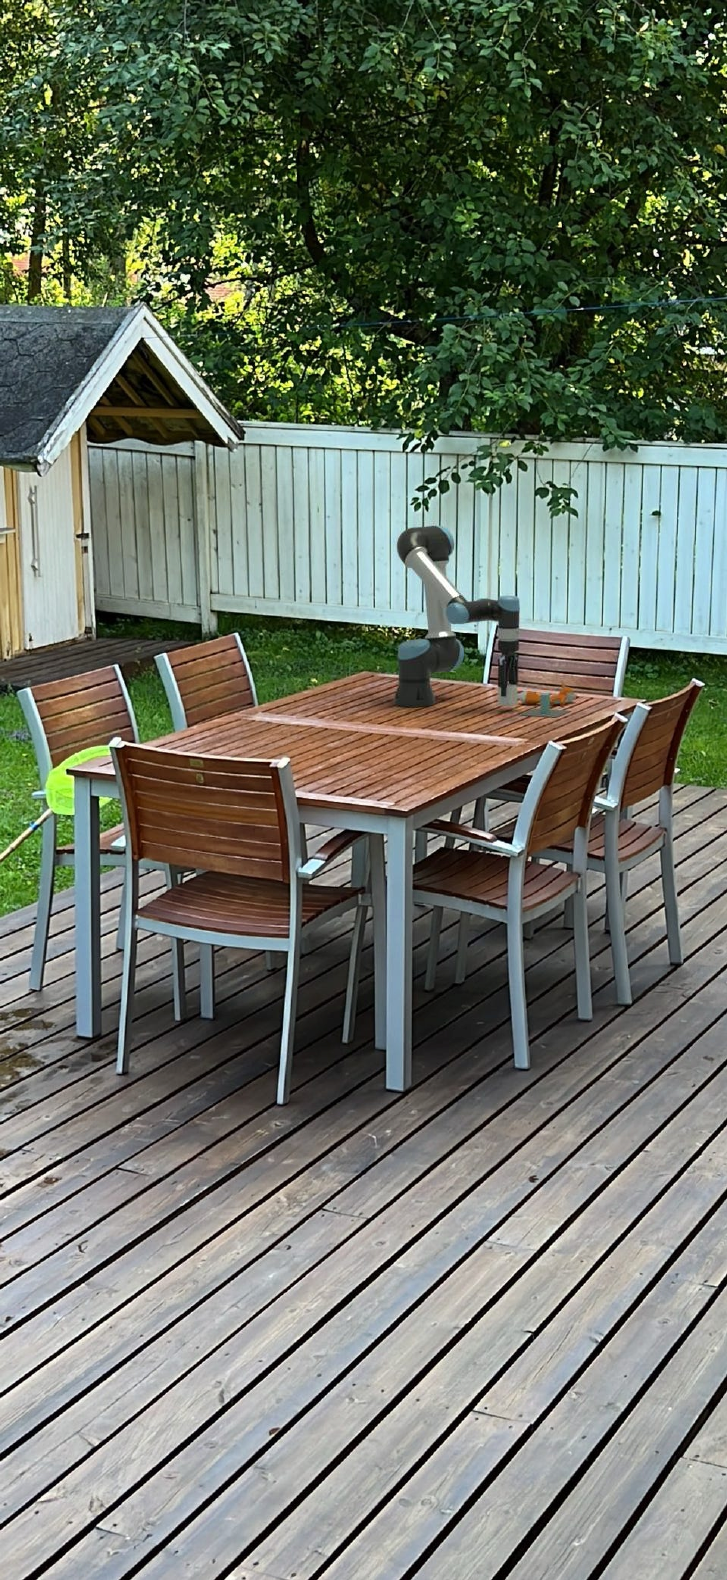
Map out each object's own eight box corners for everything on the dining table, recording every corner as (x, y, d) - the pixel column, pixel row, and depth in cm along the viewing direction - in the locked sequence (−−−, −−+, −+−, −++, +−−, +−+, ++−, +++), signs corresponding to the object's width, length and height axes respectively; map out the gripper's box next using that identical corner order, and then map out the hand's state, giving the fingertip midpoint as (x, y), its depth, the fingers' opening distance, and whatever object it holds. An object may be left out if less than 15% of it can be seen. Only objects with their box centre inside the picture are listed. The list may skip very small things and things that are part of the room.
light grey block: (497, 705, 644) (498, 687, 643) (503, 702, 649) (504, 684, 647) (511, 706, 642) (511, 688, 640) (517, 703, 646) (517, 685, 645)
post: (540, 713, 638) (540, 694, 637) (543, 712, 640) (543, 693, 639) (547, 714, 637) (547, 694, 635) (549, 713, 639) (549, 693, 638)
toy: (577, 694, 649) (576, 680, 662) (515, 694, 651) (516, 680, 665) (577, 715, 652) (576, 700, 666) (515, 715, 654) (516, 701, 668)
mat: (519, 715, 636) (519, 714, 636) (534, 709, 648) (534, 708, 648) (555, 717, 629) (555, 717, 629) (570, 711, 641) (570, 710, 641)
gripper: (507, 643, 630) (507, 708, 636) (528, 636, 646) (527, 700, 651) (488, 642, 634) (487, 707, 639) (509, 635, 649) (508, 698, 655)
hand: (507, 703), depth 645 cm, fingers closed on light grey block, 5 cm apart
